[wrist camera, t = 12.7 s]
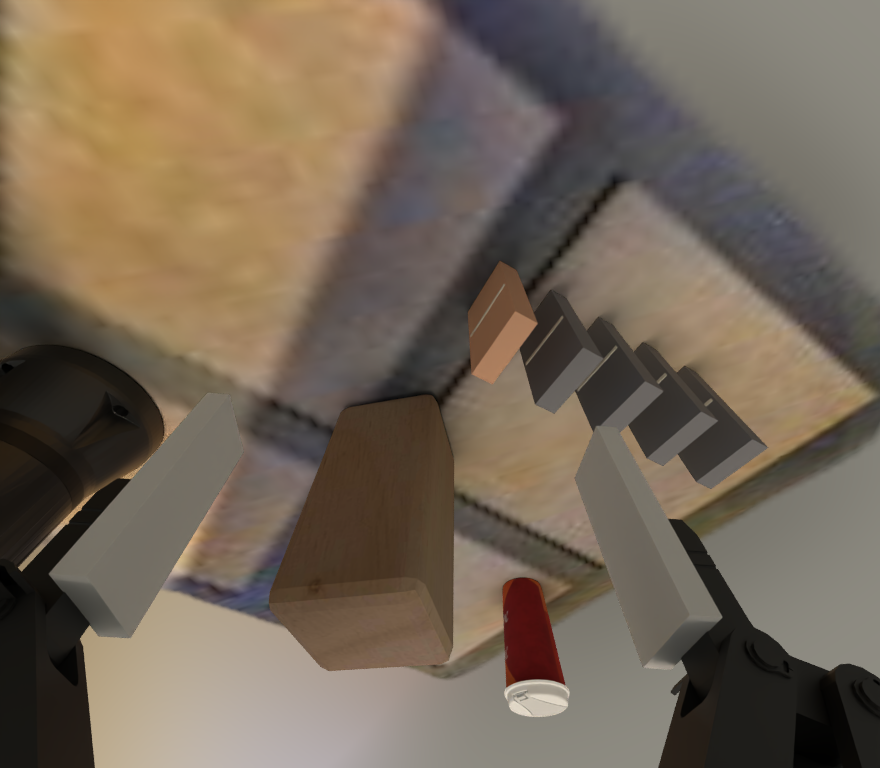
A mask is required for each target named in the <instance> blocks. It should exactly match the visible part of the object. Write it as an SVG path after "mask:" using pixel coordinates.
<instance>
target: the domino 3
mask: <svg viewBox="0 0 880 768" xmlns="http://www.w3.org/2000/svg"><path fill="white" fill-rule="evenodd" d="M634 353H635V354H636V356H637V357H638V358H639V360H640V361H641V362H642V364H643V365H644V366H645V367H646V369H647V370H648V371H649V373H650V374H651V375H652V377H653V378H654V379H655V380H656V382H657V383H658V384H659V386H660V387H661V388H662V390H663V392H662V393H661V394H660V395H659V396H658V397H657V398H656V399H655V400H654V401H653V402H652V403H651V404H650V405H649V406H648V407H646V408H645V409H644V410H643V411H642V412H641V413H640V414H639V415H638V416H637V417H636V418H635V419H634V420H633V421H632V422H631V423H630V424H629V425H628V426H629V428H630V429H631V431H632V433H633V435H634V436H635V438H636V440H637V442H638V443H639V445H640V447H641V449H642V451H643V452H644V454H645V456H646V458H647V459H649V460H652V461H654V462H656V463H658V464H660V465H662V466H664V465H665V464H666V463H667V462H668V461H670V460H671V459H672V458H673V457H675V456H676V455H677V454H678V453H679V452H681V451H682V450H683V449H684V448H686V447H687V446H688V445H689V444H690V443H692V442H693V441H694V440H695V439H697V438H698V437H699V436H700V435H701V434H703V433H704V432H705V431H706V430H707V429H709V428H710V427H711V426H712V425H714V424H715V423H716V422H717V421H718V420H717V419H716V418H715V417H714V415H713V414H712V413H711V412H710V411H709V410H708V409H707V407H706V406H705V405H704V404H703V403H702V402H701V400H700V399H699V398H698V397H697V396H696V395H695V394H694V392H693V391H692V390H691V389H690V388H689V387H688V386H687V384H686V383H685V382H684V381H683V380H682V379H681V378H680V376H679V375H678V374H677V373H676V372H675V371H674V370H673V368H672V367H671V366H670V365H669V364H668V363H667V361H666V360H665V359H664V358H663V357H662V356H661V355H660V353H659V352H658V351H657V350H656V349H654V348H652V347H650V346H649V345H647V344H645V343H642V344H641V345H640V346H639V347H638V348H637V349H636V350H635V351H634Z"/></svg>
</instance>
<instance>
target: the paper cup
mask: <svg viewBox="0 0 880 768" xmlns="http://www.w3.org/2000/svg"><path fill="white" fill-rule="evenodd" d="M503 618H504V642H505V665H506V689H505V691H504V695H505V697H506V699H507V700H508V704H509V707H510V709H511V710H512V711H513V712H515V713H517V714H520V715H524V716H531V717H532V716H533V717H543V716H551V715H555V714H558V713H561V712H563V711H564V710H565V709H566V708H567V707H568V697H569V694H570V692H569V689H568V687H566V686H565V682H564V677H563V673H562V669H561V665H560V662H559V657H558V653H557V648H556V645H555V640H554V636H553V632H552V628H551V624H550V620H549V615H548V611H547V607H546V603H545V599H544V596H543V592H542V588H541V586H540V584H539V583H538V582H537V581H535V580H533V579H530V578H516V579H512V580H510V581H508V582H507V583H505V584H504V586H503ZM532 714H533V715H532Z"/></svg>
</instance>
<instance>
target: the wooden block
mask: <svg viewBox="0 0 880 768" xmlns="http://www.w3.org/2000/svg"><path fill="white" fill-rule="evenodd" d="M453 562H454V459H453V456H452V452H451V449H450V445H449V442H448V438H447V435H446V431H445V428H444V424H443V421H442V417H441V414H440V410H439V407H438V403H437V401H436V400H435V399H434V397H433V396H432V395H427V394H425V395H419V396H413V397H407V398H401V399H395V400H389V401H383V402H377V403H371V404H365V405H359V406H353V407H348V408H347V409H345V410H343V411H342V412H341V413H340V416H339V418H338V421H337V423H336V426H335V429H334V431H333V434H332V436H331V439H330V441H329V444H328V446H327V449H326V451H325V454H324V456H323V459H322V461H321V464H320V467H319V469H318V472H317V474H316V477H315V479H314V482H313V484H312V487H311V489H310V492H309V494H308V497H307V500H306V502H305V505H304V507H303V510H302V512H301V515H300V517H299V520H298V522H297V525H296V527H295V530H294V532H293V535H292V538H291V540H290V543H289V545H288V548H287V550H286V553H285V555H284V558H283V560H282V563H281V565H280V568H279V570H278V573H277V576H276V578H275V581H274V583H273V586H272V588H271V591H270V596H269V606H270V610H271V611H272V613H273V614H274V615H275V616H276V617H277V618H278V619H279V620H280V622H281V623H282V624H283V625H284V626H285V627H286V628H287V629H288V631H289V632H290V633H291V634H292V635H293V636H294V637H295V638H296V640H297V641H298V642H299V643H300V644H301V645H302V646H303V647H304V648H305V650H306V651H307V652H308V653H309V654H310V655H311V656H312V658H313V659H314V660H315V661H316V662H317V663H318V664H319V665H320V667H322V668H324V669H326V670H328V671H336V670H352V669H368V668H384V667H402V666H419V665H436V664H442V663H444V662H446V661H449V657H450V654H451V651H452V648H453Z"/></svg>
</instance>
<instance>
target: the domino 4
mask: <svg viewBox="0 0 880 768" xmlns="http://www.w3.org/2000/svg"><path fill="white" fill-rule="evenodd" d="M677 374H678V375H679V376H680V378H681V379H682V380H683V381H684V382H685V383H686V384H687V386H688V387H689V388H690V389H691V390H692V391H693V392H694V394H695V395H696V396H697V397H698V398H699V399H700V400H701V402H702V403H703V404H704V405H705V406H706V407H707V409H708V410H709V411H710V412H711V413H712V414H713V415H714V417H715V418H716V419H717V420H718V421H717V422H716V423H715V424H714V425H712V426H711V427H710V428H709V429H707V430H706V431H705V432H704V433H703V434H701V435H700V436H699V437H698V438H697V439H695V440H694V441H693V442H692V443H690V444H689V445H688V446H687V447H686V448H684V449H683V450H682V451H681V452H679V453H678V455H679V457H680V458H681V460H682V461H683V463H684V464H685V466H686V467H687V469H688V470H689V472H690V473H691V475H692V476H693V478H694V479H695V481H696V482H698V483H700V484H702V485H704V486H706V487H708V488H710V489H712V488H713V487H714V486H716V485H717V484H719V483H720V482H721V481H723V480H724V479H726V478H727V477H728V476H730V475H731V474H732V473H734V472H735V471H737V470H738V469H739V468H741V467H742V466H743V465H745V464H746V463H748V462H749V461H750V460H752V459H753V458H755V457H756V456H757V455H759V454H760V453H761V452H763V451H764V450H766V449H767V448H768V447H767V446H766V445H765V444H764V443H763V442H762V441H761V440H760V439H759V438H758V437H757V435H756V434H755V433H754V432H753V431H752V430H751V429H750V428H749V427H748V426H747V425H746V424H745V423H744V422H743V421H742V420H741V419H740V418H739V417H738V416H737V415H736V413H735V412H734V411H733V410H732V409H731V408H730V407H729V406H728V405H727V404H726V403H725V402H724V401H723V400H722V399H721V398H720V397H719V396H718V395H717V394H716V393H715V391H714V390H713V389H712V388H711V387H710V386H709V385H708V384H707V383H706V382H705V381H704V380H703V379H702V378H701V377H700V376H699V375H698V374H697V373H696V372H694V371H692V370H691V369H689V368H687V367H685V366H684V367H683V368H682V369H681V370H680V371H679V372H678V373H677Z"/></svg>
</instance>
